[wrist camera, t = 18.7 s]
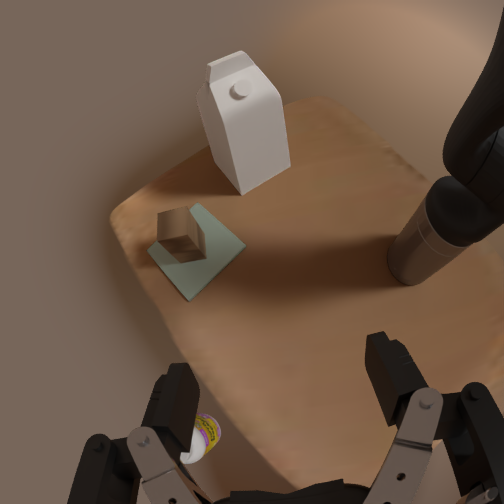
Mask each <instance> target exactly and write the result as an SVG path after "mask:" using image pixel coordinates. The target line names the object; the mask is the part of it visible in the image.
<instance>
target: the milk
mask: <svg viewBox="0 0 504 504" xmlns="http://www.w3.org/2000/svg"><path fill="white" fill-rule="evenodd" d="M205 80H206V81H205V82H204V84H203V85H202V87H201V88H200V90H199V91H198V92H197V94H196V101H197V104H198V108H199V111H200V115H201V118H202V121H203V125H204V128H205V131H206V135H207V139H208V142H209V145H210V149H211V152H212V155H213V159H214V162H215V163H216V165H217V166H218V167H219V168H220V170H221V171H222V172H223V173H224V174H225V176H226V177H227V178H228V179H229V181H230V182H231V183H232V184H233V185H234V187H235V188H236V189H237V190H238V192H239V193H240V194H241V195H244V194H245V193H247V192H248V191H250V190H252V189H253V188H255V187H257V186H258V185H260V184H262V183H263V182H265V181H267V180H268V179H270V178H272V177H273V176H275V175H277V174H278V173H280V172H282V171H284V170H285V169H287V168H289V167H290V157H289V149H288V142H287V134H286V127H285V120H284V113H283V106H282V100H281V97H280V94H279V93H278V91H277V89H276V88H275V87H274V86H273V84H272V83H271V82H270V81H269V80H268V78H267V77H266V76H265V75H264V74H263V72H262V71H261V70H260V69H259V68H258V67H257V66H256V65H255V63H254V62H253V61H252V60H251V59H250V57H249V56H248V55H247V54H246V53H245V52H243V51H238V52H236V53H233V54H231V55H228V56H226V57H223V58H221V59H218V60H216V61H213V62H211V63H209V64H207V70H206V79H205Z"/></svg>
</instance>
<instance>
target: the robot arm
mask: <svg viewBox="0 0 504 504" xmlns="http://www.w3.org/2000/svg"><path fill="white" fill-rule="evenodd" d="M443 162H444V165H445V167H446V169H447V171H448V172H449V173H450V174H451V175H452V176H445V177H442V178H440V179H439V180H437V181H436V182H435V183H434V184H433V186H432V187H431V189H430V190H429V192H428V193H427V195H426V196H425V198H424V199H423V201H422V202H421V204H420V206H419V207H418V209H417V210H416V211H415V213H414V214H413V216H412V217H411V219H410V220H409V221H408V223H407V224H406V226H405V227H404V228H403V230H402V231H401V233H400V234H399V235H398V236H397V238H396V239H395V241H394V242H393V243H392V245H391V246H390V248H389V250H388V255H387V261H388V266H389V268H390V271H391V272H392V274H393V276H394V277H395V278H396V279H397V280H399V281H400V282H402V283H404V284H406V285H417V284H420V283H421V282H423V281H425V280H426V279H427V278H429V277H430V276H432V275H433V274H434V273H436V272H437V271H439V270H440V269H441V268H443V267H444V266H445V265H447V264H448V263H449V262H450V261H452V260H453V259H454V258H456V257H457V256H458V255H459V254H461V253H462V252H463V251H464V250H465V249H467V248H468V247H469V246H470V245H471V244H473V243H475V242H479V241H481V240H482V239H484V238H485V237H486V236H487V235H489V234H490V233H491V232H493V231H494V230H495V229H497V228H498V227H499V226H501V225H502V224H504V8H503V12H502V17H501V21H500V25H499V28H498V32H497V36H496V39H495V42H494V45H493V48H492V51H491V53H490V56H489V59H488V61H487V63H486V65H485V67H484V69H483V71H482V73H481V75H480V77H479V79H478V81H477V82H476V84H475V86H474V88H473V90H472V91H471V93H470V95H469V96H468V98H467V100H466V101H465V103H464V105H463V107H462V108H461V110H460V111H459V113H458V115H457V117H456V118H455V120H454V122H453V124H452V126H451V128H450V130H449V132H448V134H447V137H446V140H445V143H444V148H443ZM365 367H366V370H367V373H368V376H369V378H370V381H371V383H372V386H373V388H374V391H375V393H376V396H377V398H378V401H379V403H380V406H381V409H382V411H383V414H384V417H385V419H386V422H387V425H388V427H389V426H392V425H395V424H396V426H397V429H398V431H397V433H396V436H395V438H394V440H393V443H392V445H391V447H390V450H389V452H388V454H387V456H386V458H385V460H384V462H383V464H382V466H381V468H380V470H379V472H378V474H377V476H376V478H375V480H374V481H373V483H372V485H371V487H370V488H368V487H366V486H362V485H358V484H349V483H344V482H343V479H338V480H334V481H329V482H324V483H318V484H314V485H311V486H309V487H306V488H303V489H301V490H298V491H295V492H292V493H289V494H280V493H272V492H265V491H258V490H256V491H231V492H230V497H226V498H223V499H220V500H218V501H215V502H213V501H212V500H211V499H210V498H209V496H208V495H207V494H206V493H205V492H204V491H203V490H202V489H201V488H200V487H199V485H198V484H197V482H196V481H195V480H194V478H193V477H192V476H191V474H190V473H189V471H188V470H187V469H186V467H185V465H184V464H183V462H182V461H181V460H180V456H181V452H182V453H190V448H191V442H192V436H193V430H194V425H195V419H196V413H197V408H198V402H199V397H200V389H199V385H198V382H197V380H196V378H195V376H194V374H193V372H192V370H191V368H190V366H189V364H188V363H172V364H171V365H170V366H169V369H168V372H167V375H161V377H160V378H159V379H158V380H157V381H156V383H155V385H154V388H153V391H152V392H153V393H152V394H151V397H150V401H149V403H148V406H147V409H146V412H145V415H144V418H143V421H142V424H141V427H139V428H136V429H134V430H133V431H132V432H131V433H130V434H129V436H128V437H126V438H120V439H114V440H110V439H109V438H108V437H107V436H106V435H103V434H95V435H93V436H91V437H90V438H89V439H88V440H87V442H86V444H85V447H84V450H83V453H82V456H81V459H80V462H79V465H78V468H77V471H76V475H75V478H74V481H73V484H72V488H71V492H70V495H69V499H68V502H67V504H136V502H137V495H138V490H139V484H140V479H141V478H142V477H143V480H144V481H143V482H142V487H143V489H144V491H145V493H146V495H147V497H148V498H149V500H150V502H151V504H411V503H412V501H413V499H414V496H415V494H416V492H417V490H418V487H419V485H420V483H421V480H422V478H423V476H424V473H425V470H426V468H427V465H428V462H429V460H430V456H431V453H432V447H431V446H432V442H433V440H439V439H443V442H444V444H445V447H446V450H447V453H448V456H449V459H450V462H451V465H452V468H453V471H454V474H455V477H456V481H457V484H458V488H459V491H460V495H461V498H460V499H459V500H458V502H457V503H456V504H504V418H503V416H502V414H501V412H500V410H499V408H498V407H497V405H496V403H495V401H494V399H493V397H492V396H491V394H490V392H489V390H488V389H487V387H486V386H485V385H483V384H481V383H479V382H472V383H469V384H467V385H466V386H465V387H464V388H463V389H462V391H461V392H457V393H449V394H440V392H438V391H437V390H436V389H433V388H429V386H428V385H427V383H426V381H425V380H424V378H423V376H422V374H421V373H420V371H419V369H418V367H417V366H416V364H415V362H413V359H412V357H411V355H409V352H408V350H407V349H406V347H405V345H403V344H402V343H400V342H399V341H398V340H396V339H395V340H392V341H390V340H389V339H388V337H387V335H386V333H385V332H384V331H382V332H378V333H374V334H370V335H367V339H366V351H365Z"/></svg>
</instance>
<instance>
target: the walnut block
mask: <svg viewBox="0 0 504 504" xmlns="http://www.w3.org/2000/svg"><path fill="white" fill-rule="evenodd" d="M157 242H158V243H160V244H161V245H162V246H163V247H164V248H165V249H166V250H167V251H168V252H169V253H170V254H171V255H172V256H173V257H174V258H175V259H176V260H178V261H179V262H180V263H186V262H192V261H197V260H202V259H207V257H206V244H205V234H204V232H203V231H202V229H201V228H200V226H199V224H198V223H197V221H196V220H195V218H194V217H193V215H192V214H191V212H190V211H189V209H188V208H187V206H186V207H181V208H177V209H173V210H169V211H165V212H161V213H158V221H157Z"/></svg>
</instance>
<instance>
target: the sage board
mask: <svg viewBox="0 0 504 504" xmlns="http://www.w3.org/2000/svg"><path fill="white" fill-rule="evenodd" d="M189 211H190V212H191V214H192V215H193V217H194V218H195V220H196V221H197V223H198V224H199V226H200V228H201V229H202V231H203V232H204V234H205V244H206V257H207V259H202V260H197V261H192V262H186V263H180V262H179V261H178V260H176V259H175V258H174V257H173V256H172V255H171V254H170V253H169V252H168V251H167V250H166V249H165V248H164V247H163V246H162V245H161V244H160V243H158V242H157V241H156V242H155V243H154V244H152V245H151V246H150V247H149V248H148V249H147V250H146V251H147V252H148V253H149V254H150V256H151V257H152V258H153V259H154V261H155V262H156V263H157V264H158V266H159V267H160V268H161V269H162V270H163V272H164V273H165V274H166V275H167V276H168V278H169V279H170V280H171V281H172V282H173V283H174V285H175V286H176V287H177V288H178V289H179V291H180V292H181V293H182V294H183V295H184V296H185V297H186V299H187V300H188V301H191V300H192V299H193V298H194V297H195V296H196V295H197V294H198V293H199V292H200V291H201V290H202V289H203V288H204V287H205V286H206V285H207V284H208V283H209V282H210V281H211V280H212V279H214V278H215V277H216V276H217V275H218V274H219V273H220V272H221V271H222V270H223V269H224V268H225V267H226V266H227V265H228V264H229V263H230V262H231V261H232V260H233V259H234V258H235V257H236V256H237V255H238V254H239V253H240V252H241V251H242V250H243V249H245V248H246V245H245V244H244V243H243V242H242V241H241V240H239V239H238V238H237V237H236V236H235V235H234V234H233V233H232V232H231V231H229V230H228V229H227V228H226V227H225V226H224V225H223V224H222V223H220V222H219V221H218V220H217V219H216V218H215V217H214V216H213V215H212V214H210V213H209V212H208V211H207V210H206V209H205V208H204V207H203V206H201V205H200V204H199V203H198V202H197V203H196V204H195V205H194V206H193V207H192V208H191V209H190V210H189Z"/></svg>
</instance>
